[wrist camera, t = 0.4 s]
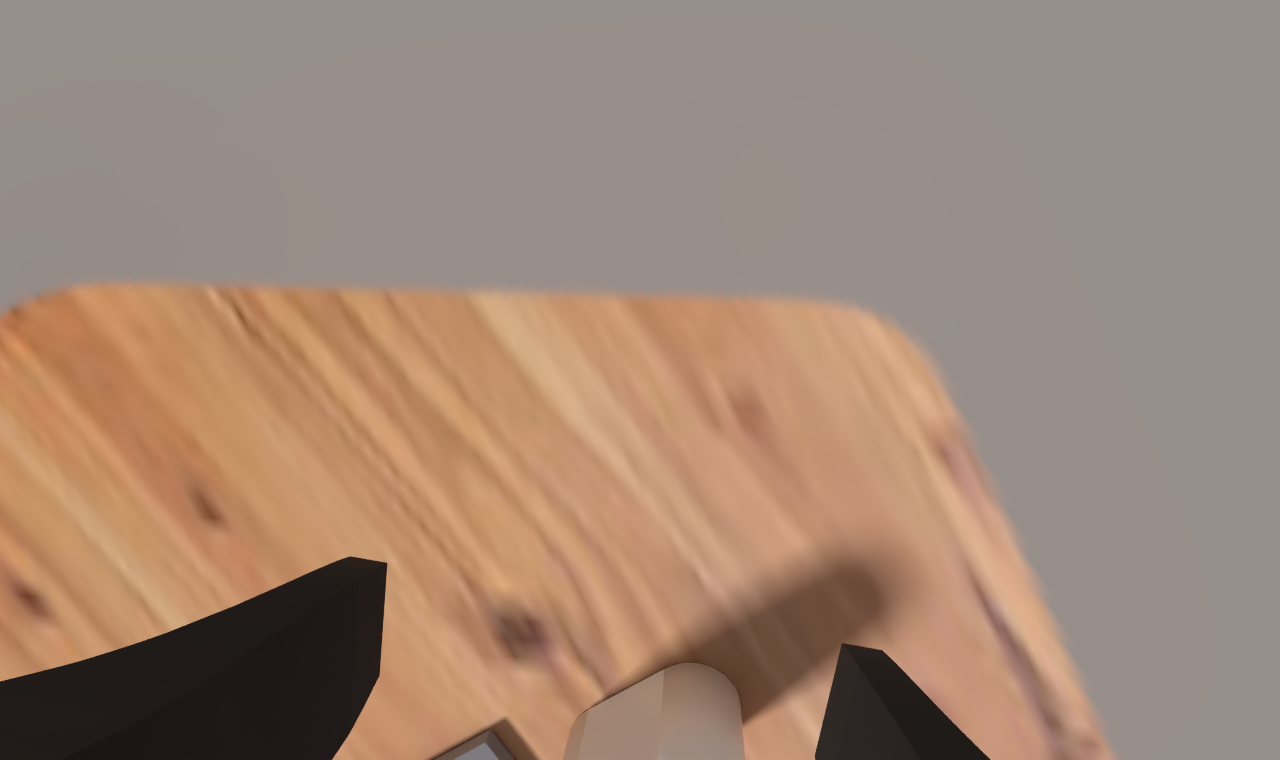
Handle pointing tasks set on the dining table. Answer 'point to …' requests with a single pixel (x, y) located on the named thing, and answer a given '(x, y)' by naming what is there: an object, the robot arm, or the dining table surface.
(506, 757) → the slate coaster
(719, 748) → the charger plug
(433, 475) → the dining table surface
